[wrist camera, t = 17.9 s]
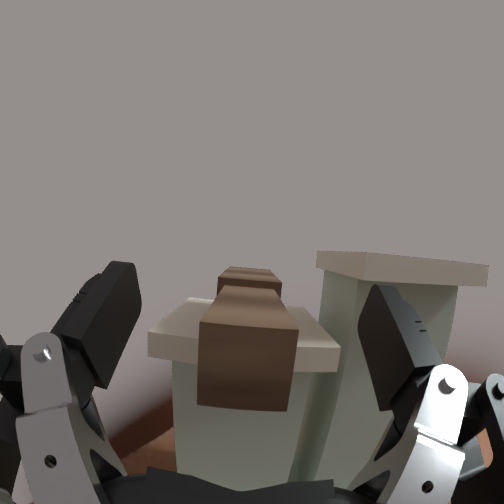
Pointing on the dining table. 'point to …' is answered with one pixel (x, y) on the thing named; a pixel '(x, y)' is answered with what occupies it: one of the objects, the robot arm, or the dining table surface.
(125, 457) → the dining table surface
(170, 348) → the step stand
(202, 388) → the walnut leg
